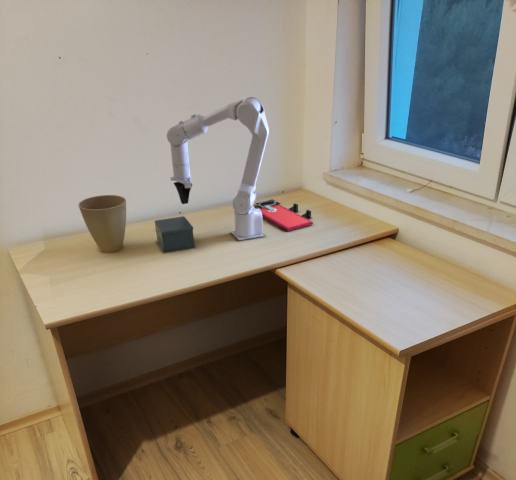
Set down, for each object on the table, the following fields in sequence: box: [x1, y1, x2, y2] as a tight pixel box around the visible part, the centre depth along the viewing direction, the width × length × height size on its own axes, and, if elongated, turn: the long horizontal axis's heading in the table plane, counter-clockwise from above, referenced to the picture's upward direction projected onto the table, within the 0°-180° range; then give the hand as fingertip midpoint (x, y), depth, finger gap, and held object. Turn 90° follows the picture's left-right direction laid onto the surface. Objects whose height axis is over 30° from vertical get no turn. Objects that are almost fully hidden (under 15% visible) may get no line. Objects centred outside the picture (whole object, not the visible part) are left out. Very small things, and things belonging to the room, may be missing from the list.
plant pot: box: [77, 194, 127, 253], centre depth 167 cm, size 15×15×16 cm
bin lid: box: [154, 215, 194, 234], centre depth 169 cm, size 11×10×1 cm
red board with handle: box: [254, 198, 314, 232], centre depth 194 cm, size 30×3×15 cm
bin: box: [154, 223, 195, 254], centre depth 171 cm, size 10×10×7 cm
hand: (184, 203), depth 177 cm, fingers closed
